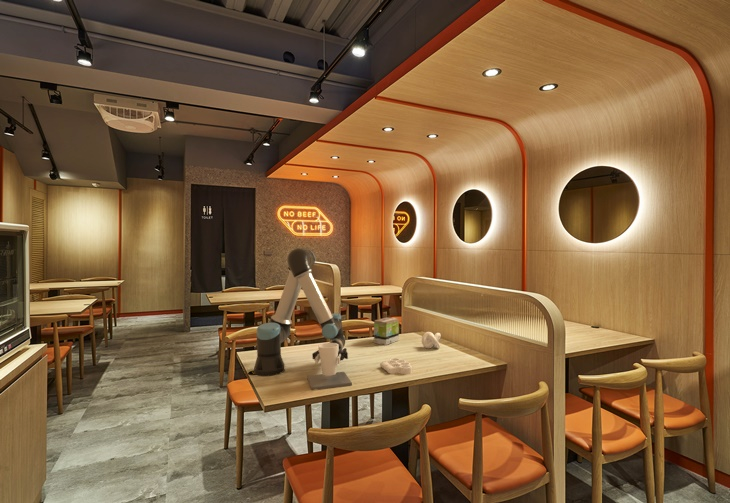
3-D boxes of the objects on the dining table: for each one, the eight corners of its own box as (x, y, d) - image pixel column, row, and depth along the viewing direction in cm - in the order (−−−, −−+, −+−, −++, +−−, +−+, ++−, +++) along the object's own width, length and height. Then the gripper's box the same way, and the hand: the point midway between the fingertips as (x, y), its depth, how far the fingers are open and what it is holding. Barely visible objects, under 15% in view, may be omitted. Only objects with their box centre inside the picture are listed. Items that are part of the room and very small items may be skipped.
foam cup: (341, 370, 181) (340, 342, 181) (337, 376, 172) (336, 348, 172) (321, 370, 182) (320, 342, 182) (316, 376, 173) (316, 348, 173)
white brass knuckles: (377, 366, 200) (403, 362, 205) (391, 377, 183) (418, 373, 188) (377, 359, 200) (403, 356, 204) (391, 370, 183) (418, 366, 188)
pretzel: (420, 349, 229) (420, 334, 228) (423, 344, 240) (422, 330, 240) (439, 350, 225) (439, 335, 225) (441, 345, 237) (441, 331, 237)
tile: (311, 390, 167) (311, 387, 167) (307, 378, 182) (307, 375, 182) (351, 385, 172) (351, 382, 172) (344, 374, 187) (344, 371, 187)
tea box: (386, 345, 239) (386, 322, 239) (373, 343, 245) (373, 320, 245) (399, 340, 251) (399, 318, 251) (386, 338, 257) (386, 316, 257)
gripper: (356, 355, 194) (351, 369, 172) (313, 355, 196) (303, 369, 173) (356, 340, 194) (351, 352, 172) (313, 340, 196) (302, 353, 173)
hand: (327, 361), depth 173 cm, fingers closed on foam cup, 9 cm apart
